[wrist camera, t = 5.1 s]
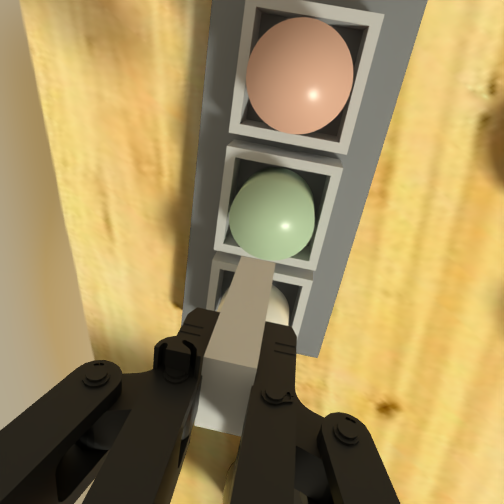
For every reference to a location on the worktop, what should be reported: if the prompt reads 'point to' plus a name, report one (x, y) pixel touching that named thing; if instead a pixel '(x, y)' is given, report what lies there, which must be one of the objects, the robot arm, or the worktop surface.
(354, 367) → the worktop surface
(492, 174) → the worktop surface
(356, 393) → the worktop surface
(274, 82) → the terracotta button
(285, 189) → the sage button
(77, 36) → the worktop surface
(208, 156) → the button panel
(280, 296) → the cream button
